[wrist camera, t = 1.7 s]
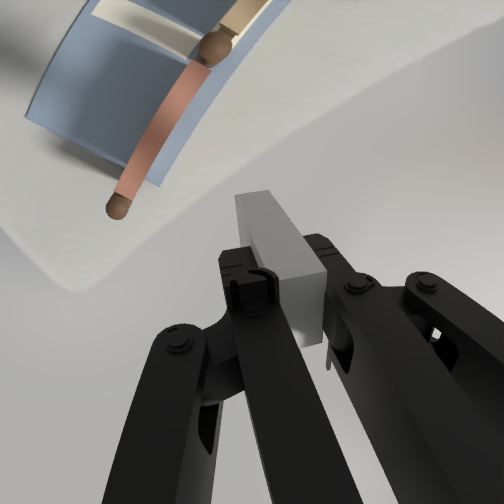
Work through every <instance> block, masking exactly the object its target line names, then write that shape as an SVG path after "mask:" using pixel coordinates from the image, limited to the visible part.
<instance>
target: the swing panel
mask: <svg viewBox="0 0 504 504" xmlns="http://www.w3.org/2000/svg"><path fill="white" fill-rule="evenodd" d="M211 71H212V70H210V69H208V68H207V67H205V66H203V65H201V64H200V63H198V62H196V61H194V60H193V59H191V61H190V62H189V64H188V65H187V67H186V68H185V69H184V71H183V72H182V74H181V75H180V77H179V78H178V80H177V81H176V83H175V84H174V86H173V87H172V89H171V90H170V92H169V93H168V95H167V96H166V98H165V100H164V101H163V103H162V104H161V106H160V108H159V109H158V111H157V112H156V114H155V116H154V117H153V119H152V121H151V122H150V124H149V126H148V128H147V129H146V131H145V133H144V134H143V136H142V138H141V140H140V142H139V143H138V145H137V147H136V149H135V151H134V152H133V154H132V156H131V158H130V160H129V162H128V164H127V166H126V168H125V169H124V171H123V173H122V175H121V177H120V179H119V181H118V183H117V185H116V187H115V189H114V193H113V195H112V196H111V198H110V199H109V201H108V203H107V204H106V213H107V214H108V216H109V217H110V218H112V219H114V220H120V219H123V218H124V217H125V216H126V214H127V212H128V210H129V208H130V205H131V203H132V201H133V199H134V197H135V195H136V193H137V191H138V189H139V188H140V186H141V184H142V182H143V180H144V178H145V176H146V175H147V173H148V171H149V169H150V167H151V166H152V164H153V162H154V160H155V159H156V157H157V155H158V153H159V152H160V150H161V148H162V147H163V145H164V143H165V142H166V140H167V138H168V137H169V135H170V133H171V132H172V130H173V128H174V127H175V125H176V124H177V122H178V120H179V119H180V117H181V116H182V114H183V113H184V111H185V110H186V108H187V106H188V105H189V103H190V102H191V100H192V99H193V97H194V96H195V94H196V93H197V91H198V90H199V89H200V87H201V86H202V84H203V83H204V81H205V80H206V78H207V77H208V76H209V74H210V73H211Z"/></svg>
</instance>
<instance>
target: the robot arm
mask: <svg viewBox="0 0 504 504" xmlns="http://www.w3.org/2000/svg"><path fill="white" fill-rule="evenodd" d="M235 203H236V211H237V220H238V227H239V236H240V244H241V248H236V249H230V250H224V251H222V253H221V255H220V257H219V259H218V261H219V267H220V273H221V278H222V284H223V290H224V295H225V300H226V305H227V310H226V313H225V314H224V316H223V317H222V318H221V319H220V320H219V321H218V322H217V323H215V324H213V325H212V326H210V327H208V328H205V329H203V330H201V329H200V328H198V327H197V326H195V325H191V324H185V323H184V324H177V325H173V326H170V327H168V328H166V329H164V330H163V331H162V332H160V333H159V334H158V335H157V337H156V338H155V340H154V341H153V344H152V347H151V349H150V352H149V355H148V358H147V360H146V363H145V366H144V369H143V372H142V374H141V377H140V380H139V383H138V386H137V389H136V392H135V395H134V398H133V401H132V404H131V407H130V410H129V413H128V416H127V419H126V422H125V425H124V428H123V431H122V434H121V438H120V441H119V444H118V447H117V451H116V454H115V458H114V461H113V464H112V468H111V471H110V474H109V478H108V482H107V485H106V489H105V492H104V497H103V500H102V504H211V498H212V490H213V481H214V473H215V466H216V457H217V449H218V441H219V434H220V426H221V417H222V410H223V400H226V399H227V398H230V397H232V396H234V395H236V394H238V393H240V392H242V391H245V396H246V399H247V404H248V408H249V413H250V417H251V421H252V425H253V430H254V434H255V438H256V442H257V446H258V450H259V454H260V458H261V462H262V466H263V470H264V474H265V478H266V482H267V486H268V489H269V493H270V497H271V500H272V504H363V502H362V499H361V497H360V494H359V492H358V489H357V487H356V484H355V482H354V480H353V477H352V475H351V472H350V470H349V468H348V465H347V462H346V460H345V458H344V456H343V453H342V450H341V448H340V446H339V443H338V441H337V439H336V436H335V434H334V431H333V429H332V426H331V424H330V421H329V419H328V417H327V414H326V412H325V409H324V407H323V405H322V402H321V400H320V397H319V395H318V393H317V390H316V388H315V385H314V383H313V381H312V378H311V376H310V373H309V371H308V369H307V366H306V364H305V361H304V359H303V357H302V354H301V352H300V349H299V348H303V347H307V346H311V345H315V344H319V343H322V339H323V330H324V332H325V334H326V336H327V338H328V340H329V342H328V351H327V360H326V368H327V370H330V368H331V361H332V363H333V365H334V367H335V369H336V371H337V373H338V375H339V377H340V379H341V381H342V383H343V385H344V387H345V389H346V391H347V394H348V396H349V398H350V400H351V402H352V404H353V406H354V408H355V410H356V412H357V415H358V417H359V419H360V421H361V423H362V425H363V427H364V429H365V431H366V434H367V436H368V438H369V440H370V442H371V444H372V446H373V448H374V451H375V453H376V455H377V457H378V459H379V461H380V464H381V466H382V468H383V470H384V473H385V475H386V477H387V479H388V481H389V483H390V485H391V488H392V490H393V492H394V495H395V497H396V499H397V501H398V504H504V322H503V321H501V320H500V319H499V318H498V317H496V316H495V315H493V314H492V313H491V312H489V311H488V310H486V309H485V308H484V307H482V306H481V305H480V304H478V303H477V302H475V301H474V300H473V299H471V298H470V297H468V296H467V295H466V294H464V293H463V292H461V291H460V290H458V289H457V288H455V287H454V286H452V285H451V284H449V283H448V282H447V281H445V280H443V279H442V278H440V277H439V276H437V275H435V274H433V273H429V272H415V273H411V274H410V275H409V276H408V277H407V279H406V282H405V286H396V287H386V286H381V284H380V283H379V282H378V281H377V280H376V279H374V278H373V277H372V276H370V275H367V274H365V273H358V272H356V271H355V270H354V269H353V268H352V266H351V265H350V264H349V263H348V262H347V260H346V259H345V258H344V257H343V256H342V254H340V252H339V251H338V250H337V248H335V246H334V245H333V244H332V242H331V241H330V240H329V239H328V238H326V237H324V236H322V235H320V234H318V233H317V234H311V235H305V236H302V235H301V233H300V232H299V231H298V229H297V228H296V227H295V225H294V224H293V222H292V221H291V220H290V218H289V217H288V216H287V214H286V213H285V212H284V210H283V209H282V208H281V206H280V205H279V204H278V202H277V201H276V199H275V198H274V197H273V195H272V194H271V193H270V192H269V190H265V191H259V192H251V193H245V194H238V195H235ZM434 328H436V329H438V330H439V331H440V332H441V336H440V338H439V339H436V338H434V337H432V334H433V331H434Z"/></svg>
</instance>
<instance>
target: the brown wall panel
mask: <svg viewBox="0 0 504 504" xmlns="http://www.w3.org/2000/svg"><path fill="white" fill-rule="evenodd" d="M267 1H268V0H238V1H237V2H236V3H235V5H234V6H233V7H232V8H231V9H230V10H229V12H228V13H227V14H226V15H225V16H224V18H223V19H222V20H221V21H220V23H219V25H220V28H219V30H218V31H213V32H210V33H208V34H206V35H205V36H204V37H203V38H202V39H201V41H200V45H199V49H198V53H197V61H198V63H200V64H201V65H203V66H205V67H207V68H212V67H215V66H216V65H218V64H219V63H220V62H221V61H222V60H223V59H225V58H226V57H227V56H228V55H229V54H230V52H231V50H232V41H231V40H232V39H233V38H234V36H235V35H237V36H238V35H239V34H240V33H241V32H242V31H243V29H244V28H245V27H246V26H247V25H248V23H249V22H250V21H251V20H252V18H253V17H254V16H255V15H256V14H257V13H258V11H259V10H260V9H261V8H262V7H263V6H264V4H265V3H266V2H267Z"/></svg>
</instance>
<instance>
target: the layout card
mask: <svg viewBox="0 0 504 504" xmlns="http://www.w3.org/2000/svg"><path fill="white" fill-rule="evenodd" d="M237 1H238V0H90V1H89V2H88V3H87V5H86V6H85V8H84V9H83V11H82V12H81V14H80V15H79V17H78V18H77V20H76V21H75V23H74V24H73V26H72V28H71V29H70V31H69V32H68V34H67V36H66V37H65V39H64V41H63V42H62V44H61V46H60V48H59V49H58V51H57V53H56V55H55V57H54V59H53V60H52V62H51V64H50V66H49V68H48V70H47V72H46V74H45V76H44V78H43V80H42V82H41V84H40V86H39V89H38V91H37V93H36V95H35V97H34V100H33V102H32V104H31V107H30V109H29V111H28V114H27V116H26V119H28V120H30V121H32V122H34V123H36V124H38V125H40V126H42V127H44V128H46V129H48V130H50V131H52V132H54V133H56V134H58V135H60V136H62V137H64V138H66V139H68V140H70V141H72V142H74V143H76V144H78V145H80V146H82V147H83V148H85V149H87V150H89V151H91V152H93V153H95V154H97V155H99V156H101V157H103V158H105V159H107V160H109V161H111V162H113V163H114V164H116V165H118V166H120V167H122V168H124V169H125V168H126V166H127V164H128V162H129V160H130V158H131V156H132V154H133V152H134V151H135V149H136V147H137V145H138V143H139V142H140V140H141V138H142V136H143V134H144V133H145V131H146V129H147V128H148V126H149V124H150V122H151V121H152V119H153V117H154V116H155V114H156V112H157V111H158V109H159V108H160V106H161V104H162V103H163V101H164V100H165V98H166V96H167V95H168V93H169V92H170V90H171V89H172V87H173V86H174V84H175V83H176V81H177V80H178V78H179V77H180V75H181V74H182V72H183V71H184V69H185V68H186V67H187V65H188V64H189V62H190V61H191V59H193V60H194V61H196V62H198V61H197V53H198V49H199V45H200V41H201V39H202V38H203V37H204V36H205V35H206V34H208V33H210V32H213V31H218V30H219V28H220V25H219V23H220V21H221V20H222V19H223V18H224V16H225V15H226V14H227V13H228V12H229V10H230V9H231V8H232V7H233V6H234V5H235V3H236V2H237ZM291 1H292V0H268V1H267V2H266V3H265V4H264V6H263V7H262V8H261V9H260V10H259V11H258V13H257V14H256V15H255V16H254V17H253V18H252V20H251V21H250V22H249V23H248V25H247V26H246V27H245V28H244V29H243V31H242V32H241V33H240V34H239V35H238V36H237V35H235V36H234V38H233V39H232V40H231V41H232V50H231V52H230V54H229V55H228V56H227V57H226V58H225V59H223V60H222V61H221V62H220V63H219V64H218V65H216V66H215V67H212V68H208V69H210V70H212V71H211V73H210V74H209V76H208V77H207V78H206V80H205V81H204V83H203V84H202V86H201V87H200V89H199V90H198V91H197V93H196V94H195V96H194V97H193V99H192V100H191V102H190V103H189V105H188V106H187V108H186V110H185V111H184V113H183V114H182V116H181V117H180V119H179V120H178V122H177V124H176V125H175V127H174V128H173V130H172V132H171V133H170V135H169V137H168V138H167V140H166V142H165V143H164V145H163V147H162V148H161V150H160V152H159V153H158V155H157V157H156V159H155V160H154V162H153V164H152V166H151V167H150V169H149V171H148V173H147V175H146V176H145V178H144V179H145V180H147V181H149V182H151V183H153V184H155V185H157V186H158V187H160V185H161V183H162V181H163V180H164V178H165V176H166V175H167V173H168V171H169V169H170V168H171V166H172V164H173V163H174V161H175V159H176V158H177V156H178V154H179V153H180V151H181V150H182V148H183V146H184V145H185V143H186V142H187V140H188V138H189V137H190V135H191V134H192V132H193V131H194V129H195V127H196V126H197V124H198V123H199V121H200V120H201V118H202V117H203V115H204V114H205V112H206V111H207V109H208V108H209V106H210V105H211V103H212V102H213V100H214V99H215V98H216V96H217V95H218V93H219V92H220V90H221V89H222V88H223V86H224V85H225V83H226V82H227V81H228V79H229V78H230V76H231V75H232V74H233V72H234V71H235V70H236V68H237V67H238V66H239V64H240V63H241V62H242V60H243V59H244V58H245V56H246V55H247V54H248V52H249V51H250V50H251V49H252V47H253V46H254V45H255V43H256V42H257V41H258V40H259V38H260V37H261V36H262V35H263V33H264V32H265V31H266V30H267V29H268V27H269V26H270V25H271V24H272V23H273V21H274V20H275V19H276V18H277V17H278V15H279V14H280V13H281V12H282V11H283V10H284V8H285V7H286V6H287V5H288V4H289V3H290V2H291Z"/></svg>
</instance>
